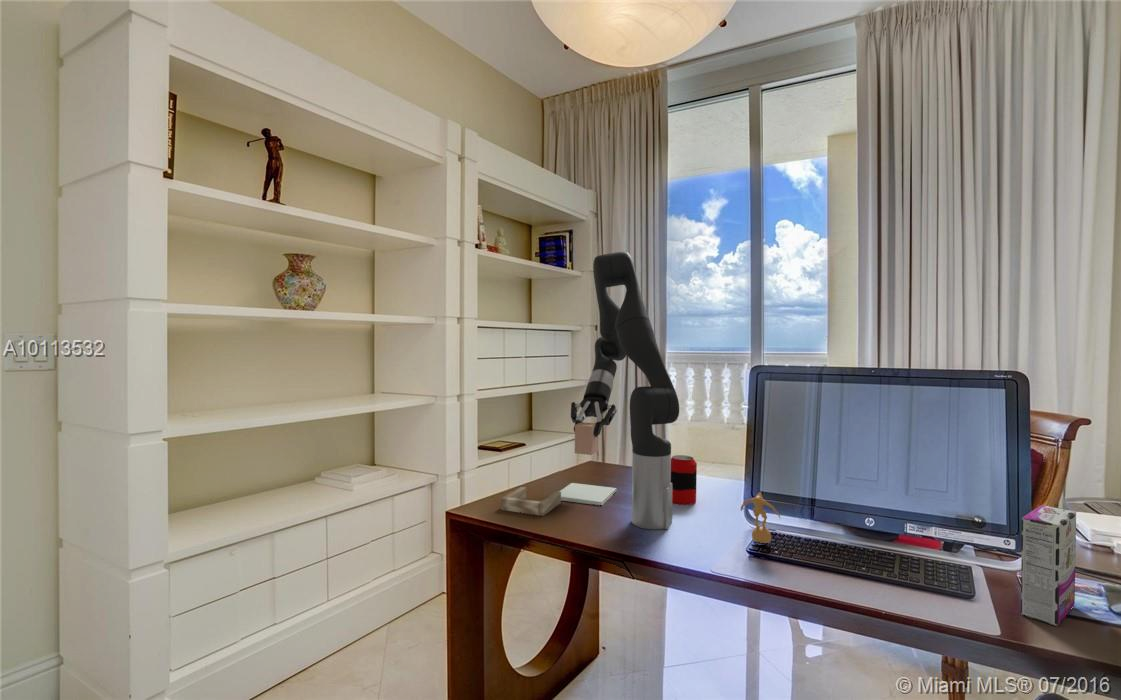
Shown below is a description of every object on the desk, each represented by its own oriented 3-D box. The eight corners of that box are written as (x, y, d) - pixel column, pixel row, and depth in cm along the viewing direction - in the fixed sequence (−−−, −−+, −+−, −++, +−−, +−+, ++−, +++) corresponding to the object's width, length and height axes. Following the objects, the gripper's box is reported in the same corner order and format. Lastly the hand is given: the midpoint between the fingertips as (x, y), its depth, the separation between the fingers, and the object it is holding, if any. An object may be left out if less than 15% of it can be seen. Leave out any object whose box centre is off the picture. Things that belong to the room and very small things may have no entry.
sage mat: (616, 491, 156) (616, 488, 156) (601, 505, 143) (601, 502, 143) (571, 486, 161) (571, 482, 161) (553, 499, 148) (553, 495, 148)
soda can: (695, 506, 143) (696, 461, 143) (667, 503, 145) (667, 459, 145) (696, 497, 151) (696, 455, 150) (668, 495, 153) (669, 453, 152)
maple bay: (560, 502, 146) (560, 491, 145) (543, 515, 135) (543, 504, 135) (521, 497, 150) (521, 486, 150) (501, 509, 139) (501, 498, 139)
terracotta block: (597, 451, 153) (597, 423, 153) (591, 454, 149) (591, 426, 149) (580, 449, 155) (580, 422, 155) (574, 453, 151) (574, 424, 150)
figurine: (783, 547, 116) (784, 492, 116) (776, 556, 111) (777, 498, 111) (745, 538, 121) (746, 485, 121) (736, 546, 116) (737, 491, 116)
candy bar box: (1036, 595, 95) (1039, 503, 95) (1075, 607, 91) (1078, 511, 90) (1017, 614, 88) (1020, 516, 88) (1057, 628, 84) (1061, 525, 84)
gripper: (574, 379, 162) (558, 424, 152) (620, 380, 157) (607, 428, 146) (580, 394, 167) (565, 440, 157) (624, 397, 162) (612, 444, 151)
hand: (585, 434), depth 152 cm, fingers closed on terracotta block, 5 cm apart
